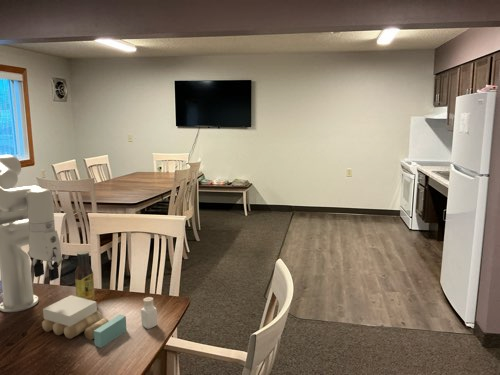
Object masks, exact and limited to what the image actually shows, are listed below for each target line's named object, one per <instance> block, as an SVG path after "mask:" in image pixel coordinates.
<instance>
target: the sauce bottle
mask: <svg viewBox="0 0 500 375" xmlns="http://www.w3.org/2000/svg"><path fill="white" fill-rule="evenodd" d="M76 257H77V267H76V269H75V271H74V274H75V276H74V278H75V279H74V281H75V296H76V297H80V298H84V299H88V300H92V301H95V283H94V281H95V280H94V271H93V269H92V267H91V265H90V258H89V257H90V252H89V251H86V250H83V251H78V252H77V253H76Z"/></svg>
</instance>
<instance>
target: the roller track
mask: <svg viewBox="0 0 500 375" xmlns="http://www.w3.org/2000/svg"><path fill="white" fill-rule="evenodd" d="M101 319H103V315H102V313H101V312H100V310H98V309H97V312H95V313H93V314H92V315H90V316H88V317H86V318H85V319H83V320H81V321H79V322H78V323H76V324H74V325H72V326H71V327H70V326H66V325H63V324H60V323H56V322H53V321H50V320H46V319H44V320H43V321H42V322H41V326H42V329H43V330H44V331H45V332H47V333H49V332H51V331H53V333H54V334H55V335H57V336H60V335H63V334H64V336H65V337H66V339H69V340H72V339H73V338H74V337H77V336H78V335H80V334H81V333H83V332H85V329H87V328H88V327H90V326H91V325H93V324H95V323H96V322H98V321H100V320H101Z"/></svg>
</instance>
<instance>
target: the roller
mask: <svg viewBox="0 0 500 375" xmlns="http://www.w3.org/2000/svg"><path fill="white" fill-rule="evenodd" d="M109 321H110V320H108V319H107V318H106V317H105V318H103V317H102V319H101V320H100V321H98V322H96V323H95V324H93V325H91V326H90V327H88V328H87V329H85V331H83V332H84V333H83V334H84V336H85V338H86V339H87V340H91V341H92V340H93V339H94V330H96V329H97V328H99V327H101V326H102V325H104V324H105V323H107V322H109Z"/></svg>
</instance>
